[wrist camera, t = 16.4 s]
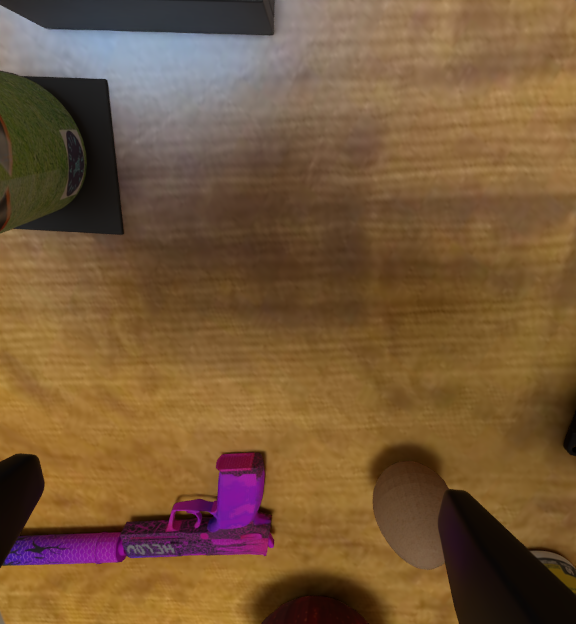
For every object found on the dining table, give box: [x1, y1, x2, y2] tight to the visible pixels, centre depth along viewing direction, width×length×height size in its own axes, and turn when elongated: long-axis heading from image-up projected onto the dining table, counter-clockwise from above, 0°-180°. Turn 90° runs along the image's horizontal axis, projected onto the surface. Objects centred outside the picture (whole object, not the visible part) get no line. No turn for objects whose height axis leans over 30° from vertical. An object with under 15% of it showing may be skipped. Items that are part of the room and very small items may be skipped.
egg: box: [373, 461, 449, 569], centre depth 21 cm, size 4×4×6 cm
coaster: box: [13, 76, 124, 235], centre depth 19 cm, size 7×7×1 cm
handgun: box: [2, 453, 274, 566], centre depth 26 cm, size 21×8×2 cm, turn 98°
